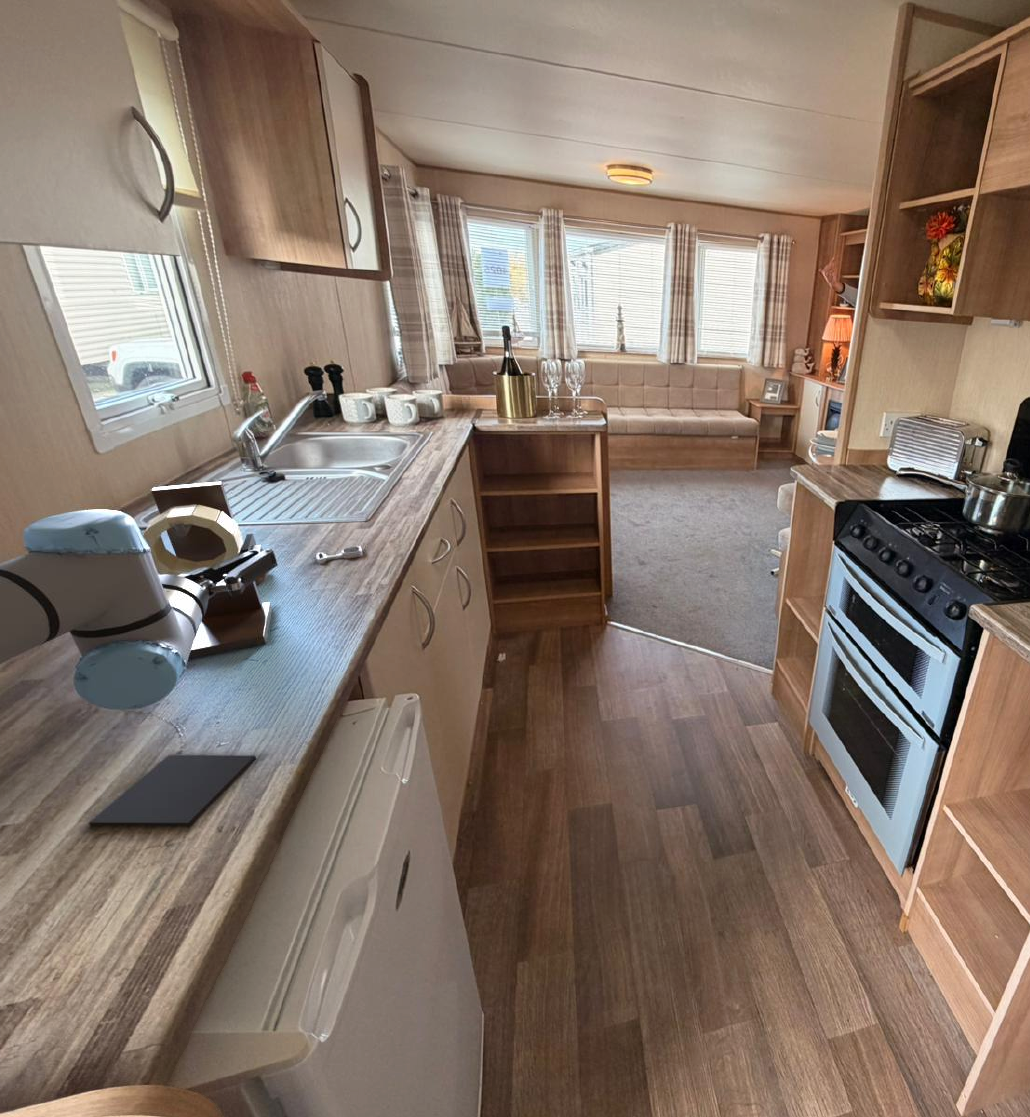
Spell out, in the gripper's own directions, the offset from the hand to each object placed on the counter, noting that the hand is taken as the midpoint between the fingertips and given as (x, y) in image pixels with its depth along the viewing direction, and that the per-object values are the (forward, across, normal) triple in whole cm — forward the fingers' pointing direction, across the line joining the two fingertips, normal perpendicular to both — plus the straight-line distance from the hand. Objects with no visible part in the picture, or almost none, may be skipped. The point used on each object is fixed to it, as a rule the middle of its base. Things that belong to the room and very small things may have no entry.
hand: (193, 549), depth 86 cm
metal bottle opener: (+30, +15, -17) cm, 38 cm away
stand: (+4, 0, -16) cm, 17 cm away
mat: (-34, -1, -16) cm, 37 cm away
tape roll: (+2, 0, -5) cm, 5 cm away
